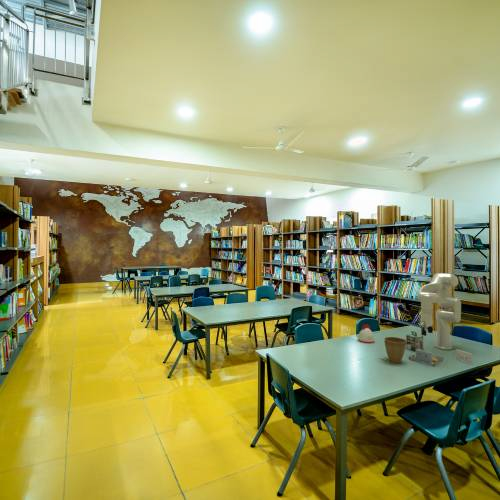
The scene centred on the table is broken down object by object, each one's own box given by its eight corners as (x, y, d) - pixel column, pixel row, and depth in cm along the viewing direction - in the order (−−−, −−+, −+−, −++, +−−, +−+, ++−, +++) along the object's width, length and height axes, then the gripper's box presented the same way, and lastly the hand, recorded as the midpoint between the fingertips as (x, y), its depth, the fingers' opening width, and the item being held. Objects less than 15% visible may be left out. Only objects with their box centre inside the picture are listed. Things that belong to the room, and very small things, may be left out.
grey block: (417, 358, 235) (417, 349, 235) (431, 362, 227) (431, 352, 227) (415, 359, 233) (415, 349, 233) (429, 363, 225) (429, 353, 225)
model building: (423, 350, 254) (423, 332, 254) (415, 351, 251) (415, 333, 251) (414, 347, 263) (414, 329, 263) (405, 348, 260) (405, 330, 260)
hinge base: (445, 360, 232) (445, 356, 232) (434, 366, 221) (434, 362, 221) (421, 353, 246) (421, 350, 246) (408, 359, 235) (408, 355, 235)
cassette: (472, 364, 224) (473, 354, 224) (471, 365, 223) (471, 354, 223) (456, 359, 235) (456, 348, 235) (455, 359, 234) (455, 349, 234)
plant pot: (398, 366, 221) (398, 343, 221) (379, 360, 233) (379, 338, 233) (410, 362, 229) (410, 340, 228) (392, 356, 241) (392, 335, 241)
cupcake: (354, 339, 285) (354, 323, 284) (367, 338, 289) (367, 322, 289) (364, 344, 271) (364, 326, 271) (378, 342, 275) (378, 325, 275)
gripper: (427, 308, 239) (427, 330, 240) (415, 311, 229) (416, 335, 229) (437, 310, 233) (437, 333, 234) (426, 313, 223) (426, 337, 223)
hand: (427, 334), depth 231 cm, fingers open, 9 cm apart
